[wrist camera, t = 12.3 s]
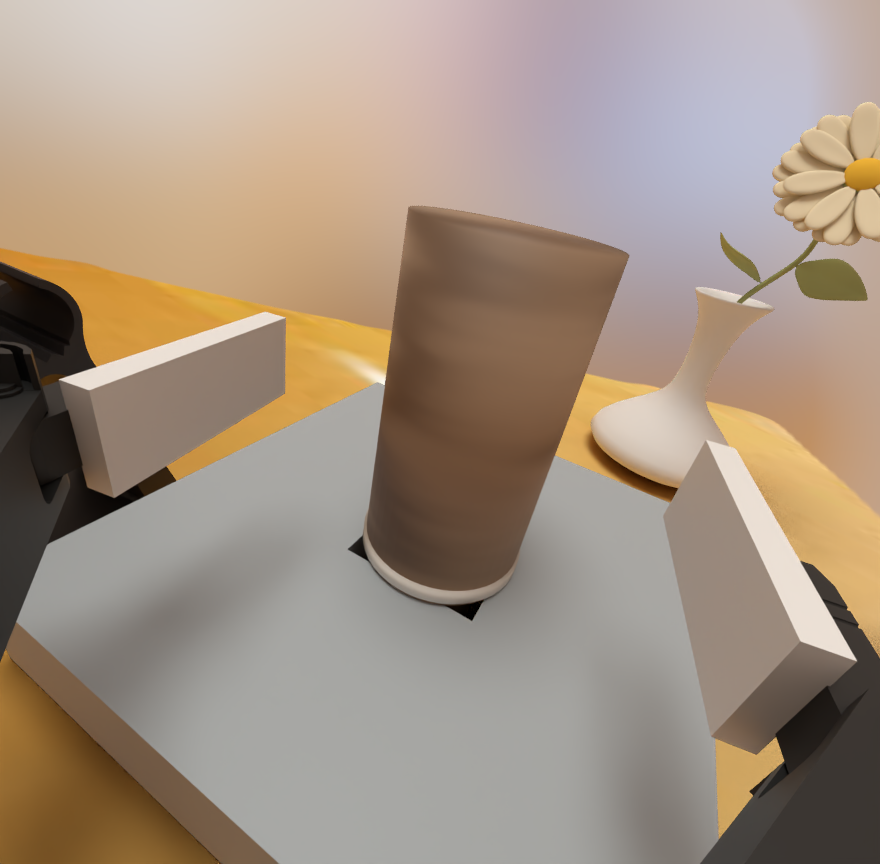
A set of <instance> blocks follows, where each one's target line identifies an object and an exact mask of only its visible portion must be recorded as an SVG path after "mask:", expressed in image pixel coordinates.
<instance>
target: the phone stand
mask: <svg viewBox="0 0 880 864" xmlns="http://www.w3.org/2000/svg"><path fill="white" fill-rule="evenodd" d="M0 341H4V342H15V343H19V344H23V345H26V346H28V347H29V348H30V349H32V353H33V356H34V360H35V363H36V366H37V370H38V373H39V377H40V380H41V384H42V387H43V386H46V385H49V384H52V383H55V382H58V381H59V379H62V378H65V377H68V376H71V375H74V374H77V373H80V372H83V371H86V370H89V369H92V368H95V367H96V366H95V364H94V363H93V361H92V360H91V358H90V356H89V354H88V351H87V349H86V345H85V341H84V336H83V320H82V314H81V311H80V309H79V306H78V305H77V303H76V301H75V300H74V299H73V297H72V296H71V295H70V294H69V293H68V292H66V291H65V290H64V289H62V288H61V287H59V286H58V285H56V284H53V283H51V282H49V281H46V280H44V279H41V278H39V277H36V276H34V275H32V274H29V273H27V272H24V271H22V270H19V269H17V268H15V267H12V266H10V265H7V264H5V263H2V262H0ZM68 477H69V480H70V489H69V491H68V494H67V496H66V499H65V501H64V504H63V506H62V509H61V511H60V514H59V516H58V519H57V521H56V524H55V526H54V529H53V531H52V534H51V536H50V539H49V541H48V544H49V543H51V542H53V541H56V540H58V539H60V538H62V537H64V536H66V535H68V534H70V533H72V532H74V531H76V530H78V529H80V528H82V527H84V526H86V525H88V524H90V523H92V522H94V521H96V520H98V519H100V518H102V517H104V516H106V515H108V514H111V513H113V512H115V511H117V510H119V509H121V508H123V507H125V506H127V505H129V504H131V503H133V502H135V501H137V500H139V499H141V498H143V497H145V496H147V495H149V494H151V493H153V492H155V491H157V490H159V489H161V488H163V487H165V486H168V485H170V484H172V483H174V482H176V480H175V478H174V477H173V475H172V474H171V472H170V471H169V470H168V468H167V467H164V468H162V469H161V470H159V471H157V472H156V473H154V474H153V475H151V476H149V477H148V478H146V479H144V480H143V481H141V482H140V483H138V484H136V485H135V486H133V487H131V488H130V489H128V490H126V491H125V492H123V493H122V494H120V495H118V496H117V497H115V498H113V497H111V496H108V495H106V494H103V493H101V492H98V491H95V490H93V489H90V488H88V487H87V484H86V480H85V476H84V473H83V469H82V466H81V467H79V468H77V469H75V470H73V471H71V472H69V473H68Z"/></svg>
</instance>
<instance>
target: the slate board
mask: <svg viewBox="0 0 880 864" xmlns="http://www.w3.org/2000/svg"><path fill="white" fill-rule="evenodd" d="M384 389H385V385H383V384H380V383H378V382H377V383H375V384H373V385H371V386H369V387H367V388H365V389H363V390H361V391H359V392H357V393H355V394H353V395H351V396H349V397H347V398H345V399H343V400H341V401H339V402H337V403H334V404H332V405H330V406H328V407H326V408H324V409H322V410H320V411H318V412H316V413H314V414H312V415H310V416H308V417H306V418H304V419H302V420H300V421H298V422H296V423H294V424H292V425H290V426H288V427H286V428H284V429H282V430H279V431H277V432H275V433H273V434H271V435H269V436H267V437H265V438H263V439H261V440H259V441H257V442H255V443H253V444H251V445H249V446H247V447H245V448H243V449H241V450H239V451H237V452H235V453H233V454H231V455H229V456H227V457H225V458H222V459H220V460H218V461H216V462H214V463H212V464H210V465H208V466H206V467H204V468H202V469H200V470H198V471H196V472H194V473H192V474H190V475H188V476H186V477H184V478H182V479H180V480H178V481H176V482H174V483H172V484H170V485H168V486H165V487H163V488H161V489H159V490H157V491H155V492H153V493H151V494H149V495H147V496H145V497H143V498H141V499H139V500H137V501H135V502H133V503H131V504H129V505H127V506H125V507H123V508H121V509H119V510H117V511H115V512H113V513H111V514H108V515H106V516H104V517H102V518H100V519H98V520H96V521H94V522H92V523H90V524H88V525H86V526H84V527H82V528H80V529H78V530H76V531H74V532H72V533H70V534H68V535H66V536H64V537H62V538H60V539H58V540H56V541H53V542H51V543H49V544H47V546H46V549H45V551H44V554H43V556H42V559H41V561H40V564H39V566H38V569H37V571H36V574H35V576H34V579H33V581H32V584H31V586H30V589H29V591H28V594H27V596H26V599H25V601H24V604H23V606H22V609H21V611H20V614H19V616H18V619H17V621H16V624H15V626H14V629H13V631H12V634H11V636H10V639H9V641H8V644H7V646H6V650H7V652H8V654H9V656H10V658H11V659H12V660H13V661H14V662H15V663H16V664H17V665H18V666H19V667H20V668H21V669H22V670H23V671H24V672H25V673H26V674H27V675H28V676H29V677H30V678H32V679H33V680H34V681H35V682H36V683H37V684H38V685H39V686H40V687H41V688H42V689H43V690H44V691H45V692H46V693H47V694H48V695H49V696H50V697H51V698H52V699H53V700H54V701H55V702H56V703H57V704H58V705H59V706H60V707H61V708H62V709H63V710H64V711H65V712H66V713H67V714H68V715H69V716H70V717H72V718H73V719H74V720H75V721H76V722H77V723H78V724H79V725H80V726H81V727H82V728H83V729H84V730H85V731H86V732H87V733H88V734H89V735H90V736H91V737H92V738H93V739H94V740H95V741H96V742H97V743H98V744H99V745H100V746H101V747H102V748H103V749H104V750H105V751H106V752H107V753H108V754H109V755H110V756H112V757H113V758H114V759H115V760H116V761H117V762H118V763H119V764H120V765H121V766H122V767H123V768H124V769H125V770H126V771H127V772H128V773H129V774H130V775H131V776H132V777H133V778H134V779H135V780H136V781H137V782H138V783H139V784H140V785H141V786H142V787H143V788H144V789H145V790H146V791H147V792H148V793H149V794H150V795H151V796H153V797H154V798H155V799H156V800H157V801H158V802H159V803H160V804H161V805H162V806H163V807H164V808H165V809H166V810H167V811H168V812H169V813H170V814H171V815H172V816H173V817H174V818H175V819H176V820H177V821H178V822H179V823H180V824H181V825H182V826H183V827H184V828H185V829H186V830H187V831H188V832H189V833H190V834H191V835H193V836H194V837H195V838H196V839H197V840H198V841H199V842H200V843H201V844H202V845H203V846H204V847H205V848H206V849H207V850H208V851H209V852H210V853H211V854H212V855H213V856H214V857H215V858H216V859H217V860H218V861H219V862H220V863H221V864H700V863H701V862H702V860H703V859H704V858H705V857H706V855H707V854H708V853H709V851H710V850H711V849H712V848H713V846H714V845H715V844H716V843H717V841H718V810H717V780H716V750H715V738H713V737H711V734H710V729H709V725H708V720H707V716H706V711H705V706H704V702H703V697H702V693H701V688H700V683H699V679H698V674H697V670H696V665H695V660H694V656H693V651H692V647H691V642H690V637H689V633H688V628H687V624H686V619H685V614H684V610H683V605H682V601H681V596H680V591H679V587H678V582H677V578H676V573H675V568H674V564H673V559H672V555H671V550H670V545H669V541H668V536H667V532H666V527H665V522H664V518H663V515H664V513H665V512H666V510H667V508H668V506H669V505H670V503H669V502H666V501H664V500H662V499H659V498H657V497H654V496H652V495H649V494H647V493H645V492H642V491H640V490H637V489H635V488H632V487H630V486H628V485H625V484H623V483H620V482H618V481H615V480H613V479H611V478H608V477H606V476H603V475H601V474H598V473H596V472H594V471H591V470H589V469H586V468H584V467H582V466H579V465H577V464H574V463H572V462H569V461H567V460H565V459H562V458H560V457H557V456H554V459H553V461H552V464H551V467H550V469H549V472H548V475H547V478H546V480H545V483H544V486H543V488H542V491H541V494H540V496H539V499H538V502H537V504H536V507H535V510H534V512H533V515H532V518H531V520H530V523H529V526H528V528H527V531H526V534H525V536H524V539H523V542H522V544H521V547H520V555H519V559H518V562H517V565H516V568H515V570H514V573H513V575H512V577H511V579H510V580H509V581H508V583H507V584H506V585H505V586H504V587H503V588H502V589H501V590H500V591H498V592H497V593H495V594H494V595H492V596H490V597H488V598H486V599H484V601H483V603H482V605H481V606H480V608H479V610H478V612H477V613H476V615H475V617H474V619H473V620H472V621H471V620H469V619H467V618H466V617H464V616H462V615H460V614H459V613H457V612H455V611H453V610H452V609H450V608H448V607H447V606H445V605H438V604H432V603H427V602H424V601H421V600H417V599H415V598H412V597H410V596H408V595H406V594H404V593H402V592H400V591H399V590H397V589H395V588H394V587H393V586H391V585H390V584H389V583H387V582H386V581H385V580H384V579H383V578H382V577H381V576H380V575H379V574H378V572H377V571H376V570H375V569H374V567H373V565H372V564H371V562H370V561H369V559H368V557H367V554H366V552H365V549H364V544H363V529H364V521H365V516H366V513H367V510H368V508H369V502H370V495H371V487H372V479H373V472H374V464H375V457H376V449H377V442H378V434H379V427H380V419H381V411H382V404H383V396H384Z"/></svg>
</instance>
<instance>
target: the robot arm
mask: <svg viewBox="0 0 880 864" xmlns="http://www.w3.org/2000/svg"><path fill="white" fill-rule="evenodd" d="M285 334H286V318H285V317H281V316H278V315H274V314H271V313H267V312H263V313H260V314H257V315H254V316H251V317H248V318H245V319H242V320H239V321H236V322H233V323H229V324H226V325H223V326H220V327H217V328H214V329H211V330H208V331H205V332H202V333H199V334H196V335H193V336H190V337H187V338H184V339H181V340H178V341H175V342H172V343H169V344H165V345H162V346H159V347H156V348H153V349H150V350H147V351H144V352H141V353H138V354H135V355H132V356H129V357H126V358H123V359H120V360H117V361H114V362H111V363H108V364H105V365H101V366H98V367H95V368H92V369H89V370H86V371H83V372H80V373H77V374H74V375H71V376H68V377H65V378H62V379H59V381H58V382H55V383H52V384H49V385H46V386H43V387H42V384H41V380H40V377H39V373H38V370H37V366H36V363H35V360H34V356H33V353H32V349H30V348H29V347H28V346H26V345H23V344H19V343H15V342H4V341H0V661H1V659H2V656H3V654H4V651H5V649H6V646H7V644H8V641H9V639H10V636H11V634H12V631H13V629H14V626H15V624H16V621H17V619H18V616H19V614H20V611H21V609H22V606H23V604H24V601H25V599H26V596H27V594H28V591H29V589H30V586H31V584H32V581H33V579H34V576H35V574H36V571H37V569H38V566H39V564H40V561H41V559H42V556H43V554H44V551H45V549H46V546H47V544H48V541H49V539H50V536H51V534H52V531H53V529H54V526H55V524H56V521H57V519H58V516H59V514H60V511H61V509H62V506H63V504H64V501H65V499H66V496H67V494H68V491H69V489H70V480H69V477H68V473H69V472H71V471H73V470H75V469H77V468H79V467H81V466H82V469H83V473H84V476H85V480H86V484H87V487H88V488H90V489H93V490H95V491H98V492H101V493H103V494H106V495H108V496H111V497H113V498H115V497H117V496H118V495H120V494H122V493H123V492H125V491H126V490H128V489H130V488H131V487H133V486H135V485H136V484H138V483H140V482H141V481H143V480H144V479H146V478H148V477H149V476H151V475H153V474H154V473H156V472H157V471H159V470H161V469H162V468H164V467H166V466H167V465H169V464H171V463H172V462H174V461H175V460H177V459H179V458H180V457H182V456H184V455H185V454H187V453H189V452H190V451H192V450H193V449H195V448H197V447H198V446H200V445H202V444H203V443H205V442H206V441H208V440H210V439H211V438H213V437H215V436H216V435H218V434H220V433H221V432H223V431H224V430H226V429H228V428H229V427H231V426H233V425H234V424H236V423H238V422H239V421H241V420H242V419H244V418H246V417H247V416H249V415H251V414H252V413H254V412H255V411H257V410H259V409H260V408H262V407H264V406H265V405H267V404H269V403H270V402H272V401H273V400H275V399H277V398H278V397H280V396H282V395H283V394H285ZM663 518H664V522H665V527H666V532H667V536H668V541H669V545H670V550H671V555H672V559H673V564H674V568H675V573H676V578H677V582H678V587H679V591H680V596H681V601H682V605H683V610H684V614H685V619H686V624H687V628H688V633H689V637H690V642H691V647H692V651H693V656H694V660H695V665H696V670H697V674H698V679H699V683H700V688H701V693H702V697H703V702H704V706H705V711H706V716H707V720H708V725H709V729H710V734H711V737H713V738H716V739H718V740H721V741H723V742H726V743H728V744H731V745H733V746H736V747H738V748H741V749H743V750H746V751H748V752H751V753H753V754H756V755H757V754H758V753H759V752H760V751H761V750H762V749H763V748H764V747H765V746H766V745H768V744H769V743H770V742H771V741H772V740H773V739H774V738H775V737H777V740H778V743H779V746H780V749H781V752H782V755H783V758H784V762H783V763H782V764H781V765H779V766H778V767H777V768H776V769H775V770H774V771H772V772H771V773H770V774H769V775H768V776H767V777H766V778H764V779H763V780H762V781H761V782H760V783H759V784H757V785H756V786H755V787H754V788H753V789H752V790H750V791H749V792H750V793H751V794H752V795H753V797H752V798H751V800H750V801H749V802H748V803H747V805H746V806H745V807H744V808H743V810H742V811H741V812H740V814H739V815H738V816H737V817H736V819H735V820H734V821H733V822H732V824H731V825H730V826H729V827H728V829H727V830H726V831H725V832H724V834H723V835H722V836H721V838H720V839H719V840H718V841H717V843H716V844H715V845H714V846H713V848H712V849H711V850H710V851H709V853H708V854H707V855H706V857H705V858H704V859H703V860H702V862H701V863H700V864H880V658H879V656H878V655H877V653H876V652H875V650H874V648H873V647H872V645H871V644H870V642H869V640H868V639H867V637H866V636H865V634H864V632H863V631H862V629H859V628H858V625H859V624H858V623H857V621H856V620H855V618H854V616H853V615H852V613H851V612H850V611H848V610H847V608H848V607H847V605H846V604H845V602H844V600H843V599H842V597H841V596H840V594H839V593H838V591H837V589H836V588H835V586H834V585H833V584H832V583H831V582H830V581H829V580H828V579H827V578H826V577H825V576H824V575H823V574H822V573H821V572H820V571H818V570H817V569H816V568H815V567H814V566H813V565H811V564H808V563H805V562H802V561H800V560H799V559H798V557H797V555H796V553H795V552H794V550H793V548H792V546H791V545H790V543H789V541H788V539H787V538H786V536H785V534H784V533H783V531H782V529H781V527H780V526H779V524H778V522H777V520H776V519H775V517H774V515H773V513H772V512H771V510H770V508H769V506H768V505H767V503H766V501H765V499H764V498H763V496H762V494H761V492H760V491H759V489H758V487H757V485H756V484H755V482H754V480H753V478H752V477H751V475H750V473H749V471H748V470H747V468H746V466H745V464H744V463H743V461H742V459H741V457H740V456H739V454H738V452H737V450H736V449H735V448H732V447H729V446H725V445H722V444H718V443H715V442H711V441H708V440H706V441H705V443H704V444H703V446H702V448H701V450H700V451H699V453H698V455H697V457H696V459H695V460H694V462H693V464H692V466H691V467H690V469H689V471H688V473H687V474H686V476H685V478H684V480H683V482H682V483H681V485H680V487H679V489H678V490H677V492H676V494H675V496H674V497H673V499H672V501H671V503H670V505H669V506H668V508H667V510H666V512H665V513H664V515H663Z"/></svg>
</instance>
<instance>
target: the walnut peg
mask: <svg viewBox="0 0 880 864" xmlns="http://www.w3.org/2000/svg"><path fill="white" fill-rule="evenodd" d="M628 258H629V255H628V254H627V253H626V252H624V251H622V250H619V249H617V248H614V247H611V246H608V245H605V244H602V243H599V242H596V241H592V240H589V239H586V238H581V237H578V236H575V235H570V234H567V233H563V232H559V231H555V230H551V229H546V228H543V227H538V226H534V225H529V224H525V223H521V222H516V221H511V220H506V219H502V218H497V217H491V216H486V215H481V214H476V213H470V212H464V211H457V210H451V209H444V208H437V207H427V206H410V207H409V208H408V215H407V223H406V230H405V238H404V245H403V253H402V260H401V268H400V276H399V284H398V290H397V298H396V306H395V313H394V321H393V328H392V336H391V343H390V351H389V359H388V366H387V374H386V381H385V389H384V396H383V404H382V411H381V419H380V427H379V434H378V442H377V449H376V457H375V464H374V472H373V479H372V487H371V495H370V502H369V508H368V510H367V513H366V516H365V521H364V529H363V544H364V549H365V552H366V554H367V557H368V559H369V561H370V562H371V564H372V565H373V567H374V569H375V570H376V571H377V572H378V574H379V575H380V576H381V577H382V578H383V579H384V580H385V581H386V582H387V583H389V584H390V585H391V586H393V587H394V588H395V589H397V590H399V591H400V592H402V593H404V594H406V595H408V596H410V597H412V598H415V599H417V600H421V601H424V602H427V603H432V604H438V605H445V606H447V607H448V608H450V609H452V610H453V611H455V612H457V613H459V614H460V615H462V616H464V617H465V616H466V614H467V611H468V608H469V605H470V604H472V603H475V602H478V601H481V600H484V599H486V598H488V597H490V596H492V595H494V594H495V593H497V592H498V591H500V590H501V589H502V588H503V587H504V586H505V585H506V584H507V583H508V581H509V580H510V579H511V577H512V575H513V573H514V570H515V568H516V565H517V562H518V559H519V555H520V547H521V544H522V542H523V539H524V536H525V534H526V531H527V528H528V526H529V523H530V520H531V518H532V515H533V512H534V510H535V507H536V504H537V502H538V499H539V496H540V494H541V491H542V488H543V486H544V483H545V480H546V478H547V475H548V472H549V469H550V467H551V464H552V461H553V459H554V456H555V453H556V451H557V448H558V445H559V443H560V440H561V437H562V435H563V432H564V429H565V427H566V424H567V421H568V419H569V416H570V413H571V411H572V408H573V405H574V403H575V400H576V397H577V395H578V392H579V389H580V387H581V384H582V381H583V379H584V376H585V373H586V371H587V368H588V365H589V362H590V360H591V357H592V355H593V352H594V349H595V346H596V344H597V341H598V338H599V336H600V333H601V330H602V328H603V325H604V322H605V320H606V317H607V314H608V312H609V309H610V306H611V304H612V301H613V298H614V296H615V293H616V290H617V288H618V285H619V282H620V280H621V277H622V274H623V272H624V269H625V266H626V264H627V261H628Z"/></svg>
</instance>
